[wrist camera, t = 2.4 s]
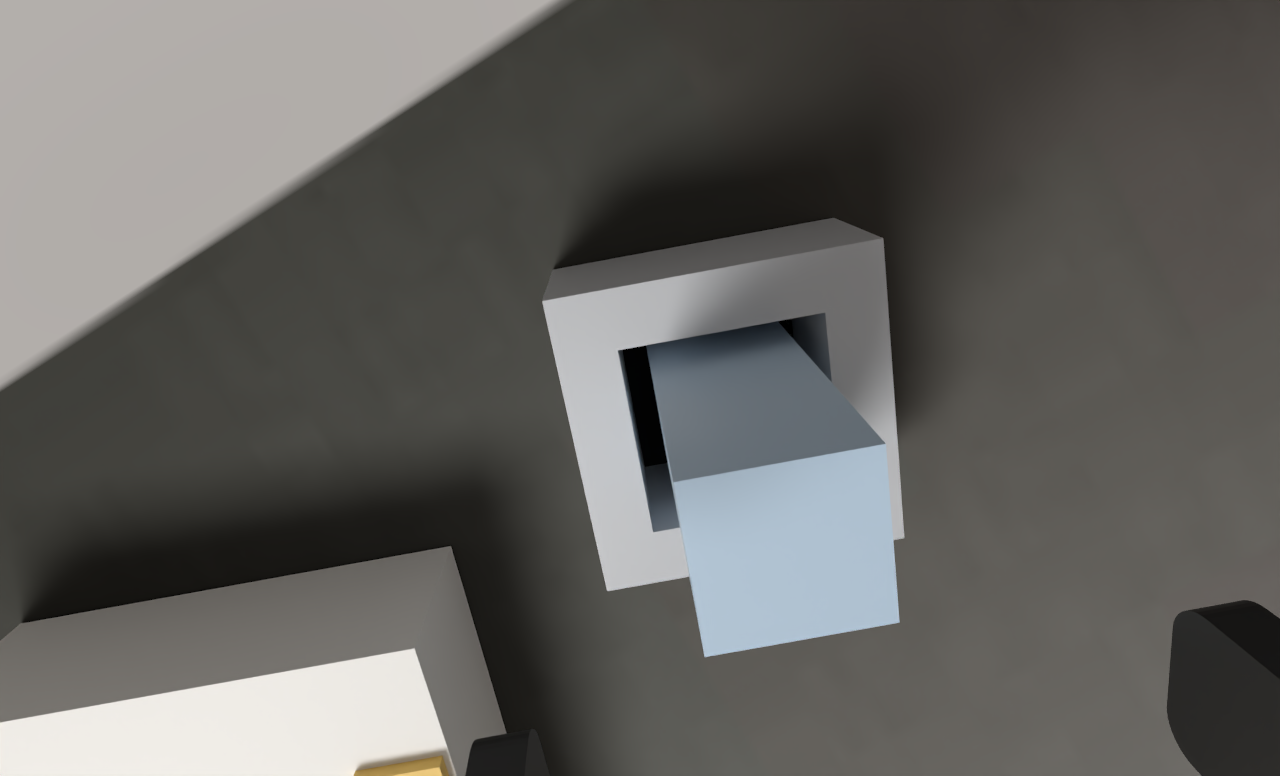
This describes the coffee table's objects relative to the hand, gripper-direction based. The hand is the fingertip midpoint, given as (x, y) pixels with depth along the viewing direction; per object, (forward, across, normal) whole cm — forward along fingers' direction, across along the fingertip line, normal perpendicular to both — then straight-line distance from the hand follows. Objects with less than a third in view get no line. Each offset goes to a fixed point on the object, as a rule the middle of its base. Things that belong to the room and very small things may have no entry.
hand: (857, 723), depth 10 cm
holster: (+14, 0, 0) cm, 14 cm away
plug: (+14, 0, 0) cm, 14 cm away
